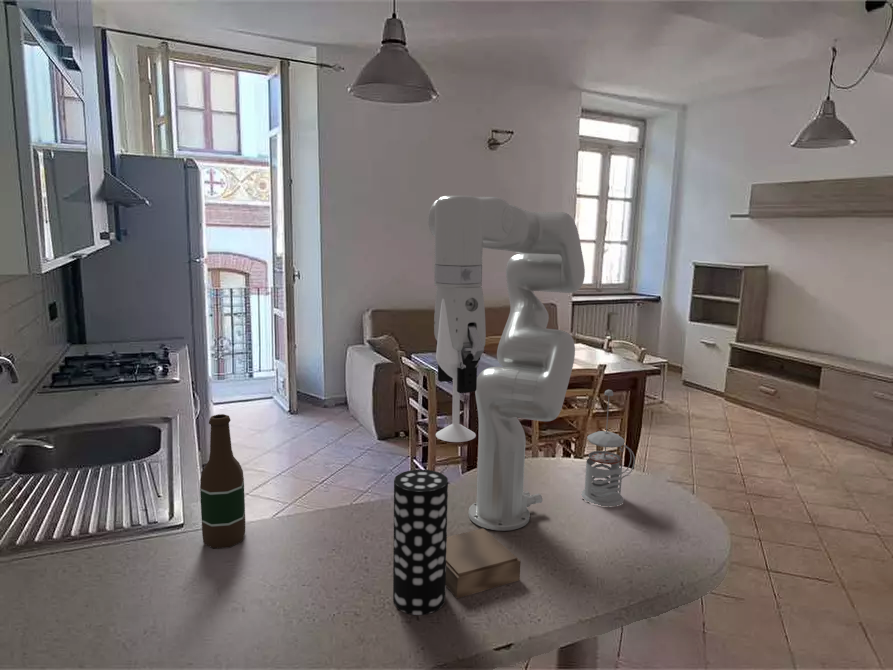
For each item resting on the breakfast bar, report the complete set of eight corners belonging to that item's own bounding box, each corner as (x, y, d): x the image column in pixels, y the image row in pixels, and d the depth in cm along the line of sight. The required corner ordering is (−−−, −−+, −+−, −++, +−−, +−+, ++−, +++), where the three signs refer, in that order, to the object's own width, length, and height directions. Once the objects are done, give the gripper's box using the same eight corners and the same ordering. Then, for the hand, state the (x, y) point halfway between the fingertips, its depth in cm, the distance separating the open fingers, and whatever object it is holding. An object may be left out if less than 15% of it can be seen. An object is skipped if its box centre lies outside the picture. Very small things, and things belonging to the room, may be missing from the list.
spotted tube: (396, 582, 98) (397, 468, 94) (446, 584, 97) (448, 470, 94) (389, 614, 89) (390, 490, 86) (444, 616, 89) (447, 492, 86)
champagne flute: (434, 441, 94) (435, 292, 89) (435, 427, 100) (436, 288, 96) (476, 442, 94) (479, 292, 89) (475, 428, 100) (477, 288, 96)
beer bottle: (232, 552, 106) (226, 424, 102) (193, 546, 107) (186, 420, 104) (254, 531, 113) (250, 411, 110) (218, 526, 115) (212, 408, 111)
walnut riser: (483, 546, 110) (484, 526, 109) (519, 580, 99) (520, 558, 98) (425, 561, 104) (425, 540, 104) (457, 598, 94) (457, 575, 93)
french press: (573, 488, 136) (579, 384, 132) (621, 487, 137) (629, 384, 133) (588, 508, 127) (595, 395, 122) (639, 506, 128) (648, 395, 124)
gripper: (507, 280, 86) (503, 397, 89) (455, 271, 102) (454, 371, 105) (461, 282, 83) (459, 403, 86) (415, 272, 98) (415, 376, 102)
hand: (456, 385), depth 96 cm, fingers closed on champagne flute, 6 cm apart
